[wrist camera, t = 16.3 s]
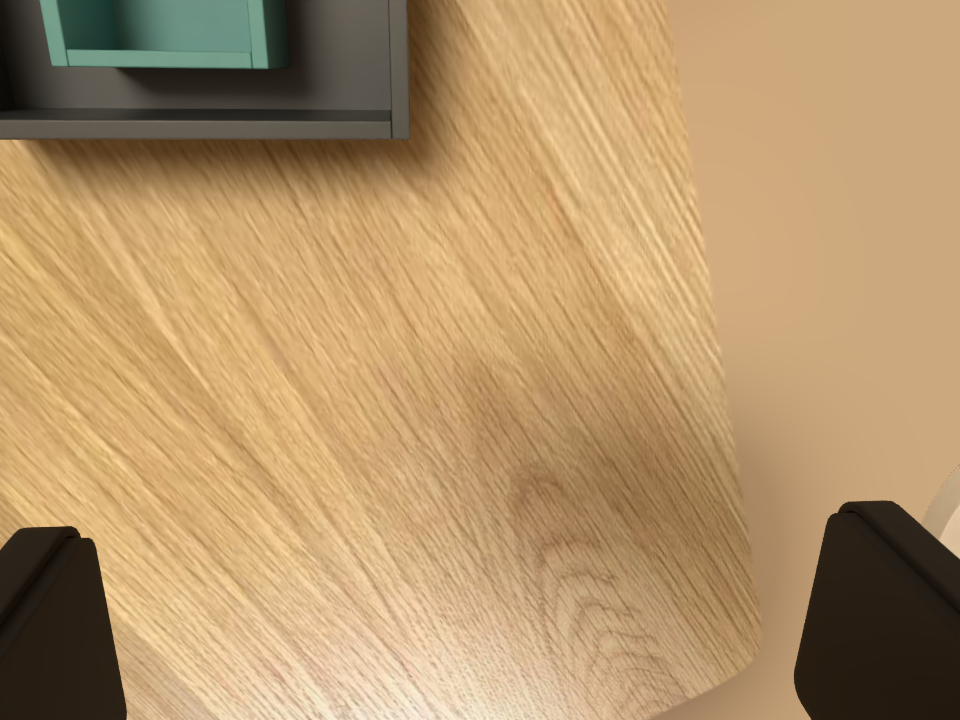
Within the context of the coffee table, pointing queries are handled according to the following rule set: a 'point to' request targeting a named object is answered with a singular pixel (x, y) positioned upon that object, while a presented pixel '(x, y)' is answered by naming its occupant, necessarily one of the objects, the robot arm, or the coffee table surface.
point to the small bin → (167, 33)
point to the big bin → (219, 84)
